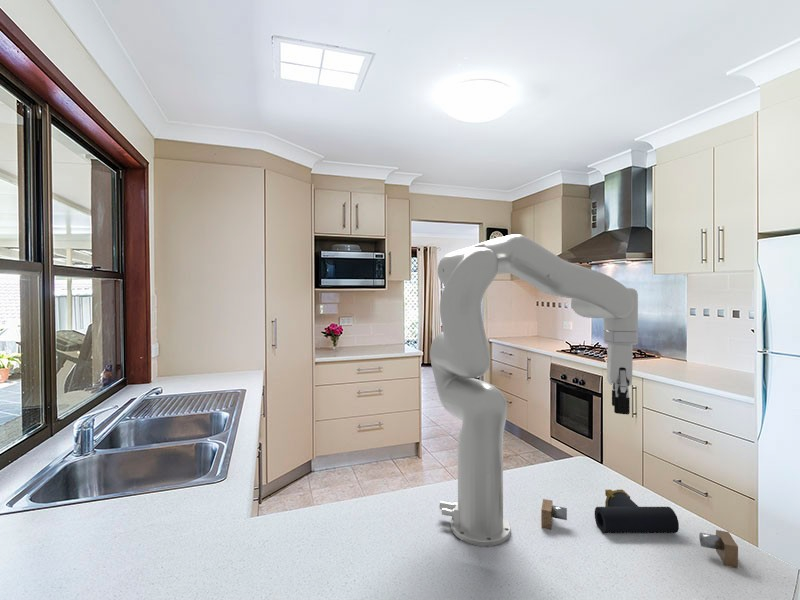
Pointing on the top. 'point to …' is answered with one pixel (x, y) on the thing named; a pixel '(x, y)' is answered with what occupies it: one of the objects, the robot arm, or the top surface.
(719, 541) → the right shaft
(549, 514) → the left shaft
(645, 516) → the pipe connector
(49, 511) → the top surface
